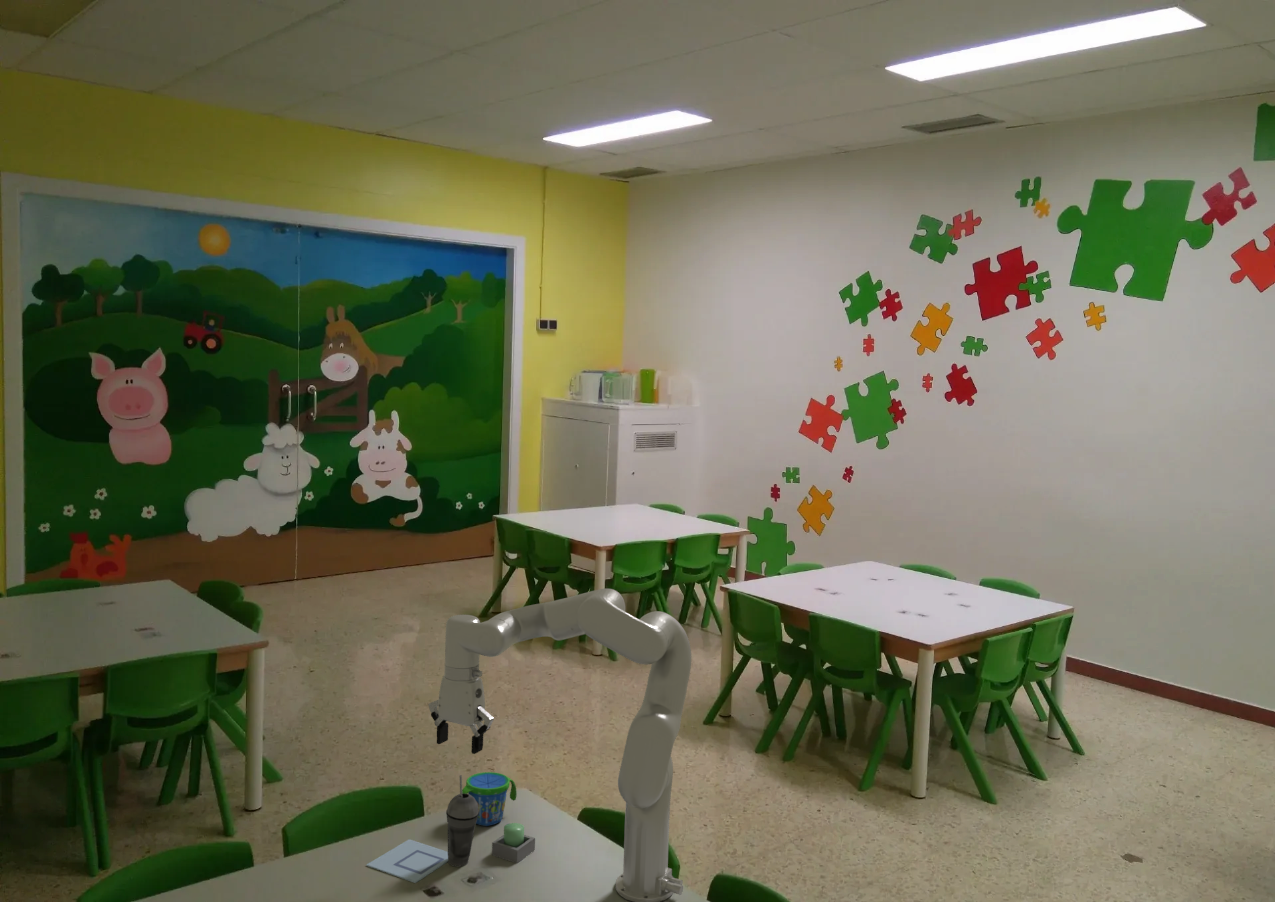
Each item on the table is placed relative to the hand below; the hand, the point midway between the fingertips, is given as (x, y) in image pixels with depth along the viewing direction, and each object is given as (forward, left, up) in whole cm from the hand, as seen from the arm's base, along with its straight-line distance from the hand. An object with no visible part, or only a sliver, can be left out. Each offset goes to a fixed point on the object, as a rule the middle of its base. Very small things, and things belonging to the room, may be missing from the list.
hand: (459, 747), depth 218 cm
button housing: (-8, -10, -27) cm, 30 cm away
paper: (+9, +5, -27) cm, 28 cm away
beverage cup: (0, 0, -27) cm, 27 cm away
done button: (-8, -10, -24) cm, 28 cm away
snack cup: (+7, -20, -27) cm, 34 cm away
